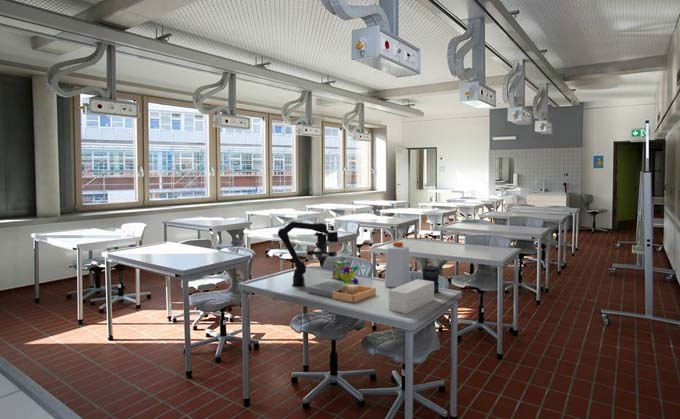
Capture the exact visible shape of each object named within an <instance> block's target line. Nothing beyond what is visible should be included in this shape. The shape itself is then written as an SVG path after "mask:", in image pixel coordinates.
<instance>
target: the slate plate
mask: <svg viewBox="0 0 680 419" xmlns="http://www.w3.org/2000/svg"><path fill="white" fill-rule="evenodd" d="M343 284H344V282H337V281H331V280H328V281H324V282H321V283H317V284H313V285H309V286H307V293H308V294H312V295H317V296H322V297H326V298H330V297H331V298H332V299H333V291H334V292H339V293H341V285H343ZM331 298H330V299H331Z"/></svg>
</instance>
